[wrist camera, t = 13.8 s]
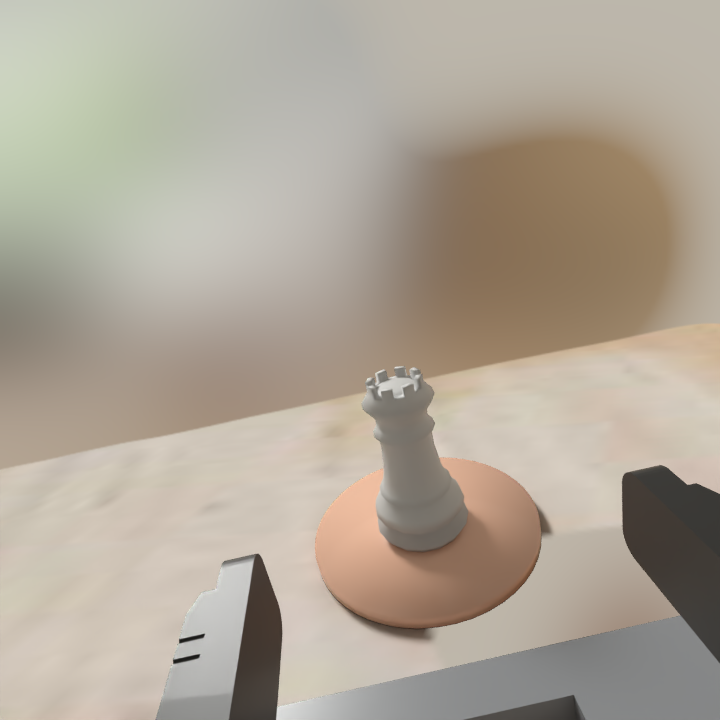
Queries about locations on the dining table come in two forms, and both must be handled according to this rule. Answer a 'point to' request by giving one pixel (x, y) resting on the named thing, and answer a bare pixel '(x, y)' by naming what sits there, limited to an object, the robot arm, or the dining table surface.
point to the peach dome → (431, 553)
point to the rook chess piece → (411, 466)
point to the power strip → (550, 683)
